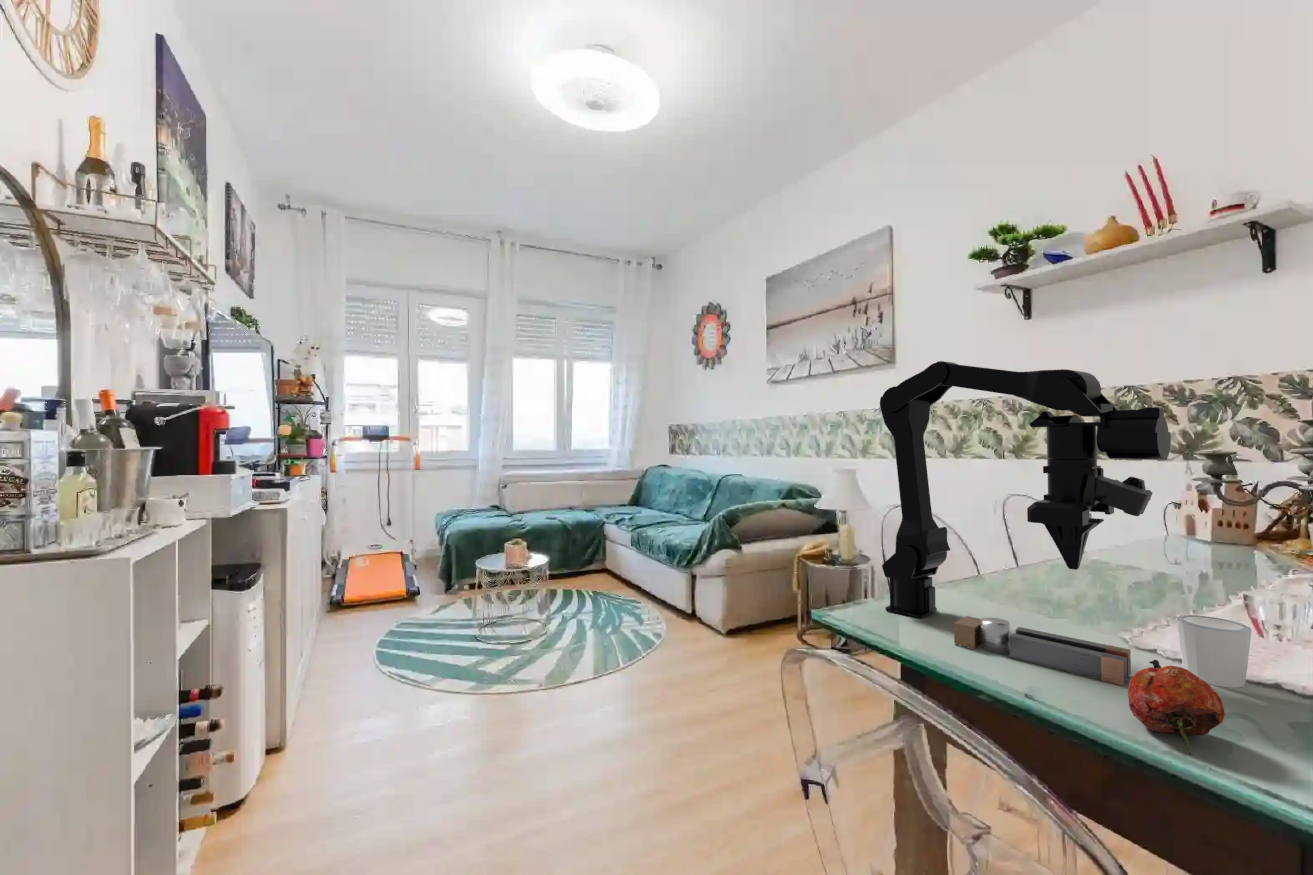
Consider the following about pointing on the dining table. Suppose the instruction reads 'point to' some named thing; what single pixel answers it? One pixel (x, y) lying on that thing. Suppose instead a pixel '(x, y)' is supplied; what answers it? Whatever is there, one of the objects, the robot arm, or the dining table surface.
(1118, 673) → the frame
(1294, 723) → the dining table surface
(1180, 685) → the wrinkled red fruit
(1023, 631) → the bar
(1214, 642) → the white cup
